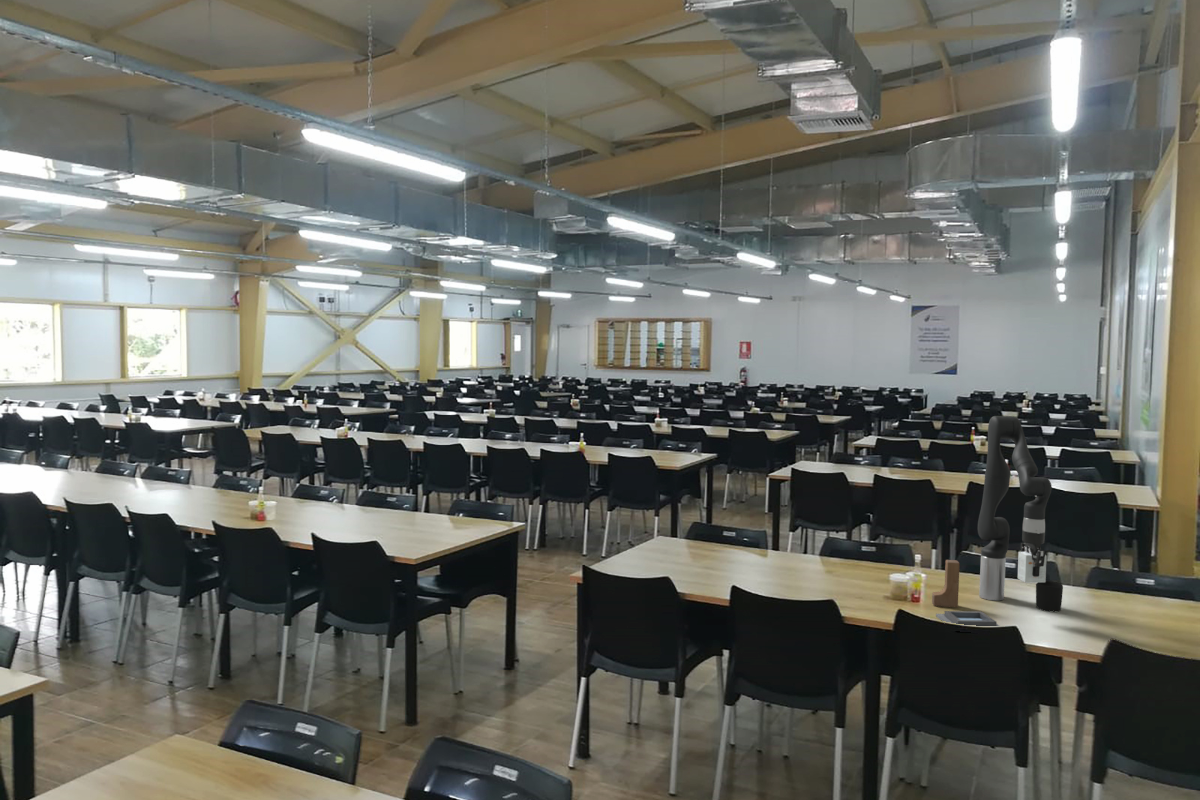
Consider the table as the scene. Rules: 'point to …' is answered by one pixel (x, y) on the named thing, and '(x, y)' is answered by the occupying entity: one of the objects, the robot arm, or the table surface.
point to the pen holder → (1049, 596)
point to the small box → (1029, 568)
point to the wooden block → (948, 586)
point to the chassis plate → (967, 618)
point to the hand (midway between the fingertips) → (1031, 573)
